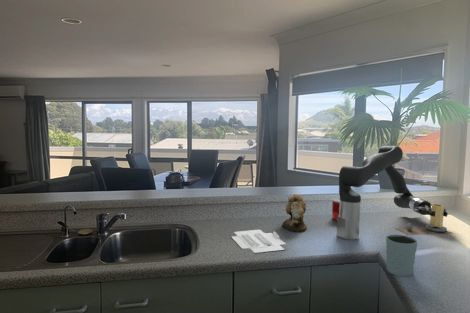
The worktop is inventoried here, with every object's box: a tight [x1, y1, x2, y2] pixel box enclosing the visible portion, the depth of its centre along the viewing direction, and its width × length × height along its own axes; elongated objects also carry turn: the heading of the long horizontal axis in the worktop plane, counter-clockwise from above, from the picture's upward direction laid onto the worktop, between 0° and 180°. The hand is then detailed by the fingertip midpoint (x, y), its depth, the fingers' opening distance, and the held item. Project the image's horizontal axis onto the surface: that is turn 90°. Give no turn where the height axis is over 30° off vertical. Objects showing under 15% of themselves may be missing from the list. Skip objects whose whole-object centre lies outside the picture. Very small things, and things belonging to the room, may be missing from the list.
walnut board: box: [394, 222, 454, 236], centre depth 166 cm, size 24×11×5 cm, turn 97°
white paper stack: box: [231, 229, 287, 254], centre depth 153 cm, size 20×28×4 cm
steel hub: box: [424, 223, 448, 233], centre depth 167 cm, size 9×9×6 cm
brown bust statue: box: [281, 193, 308, 233], centre depth 174 cm, size 18×12×17 cm, turn 8°
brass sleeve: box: [429, 203, 445, 227], centre depth 167 cm, size 5×5×10 cm
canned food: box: [331, 198, 340, 222], centre depth 189 cm, size 8×8×11 cm
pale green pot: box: [385, 234, 418, 277], centre depth 123 cm, size 10×10×12 cm
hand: (440, 214), depth 164 cm, fingers closed on brass sleeve, 5 cm apart
